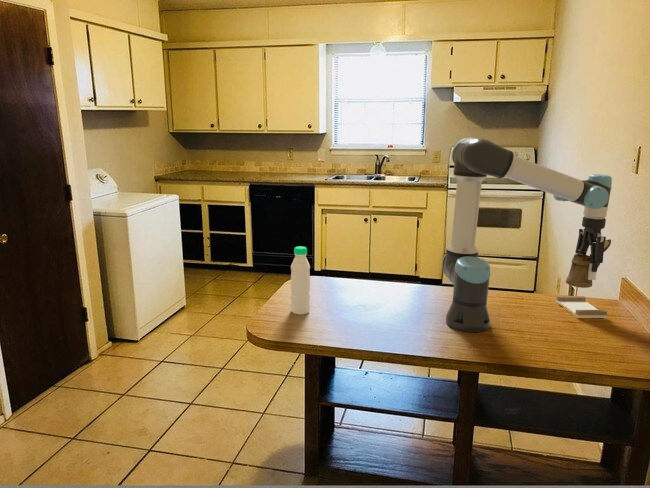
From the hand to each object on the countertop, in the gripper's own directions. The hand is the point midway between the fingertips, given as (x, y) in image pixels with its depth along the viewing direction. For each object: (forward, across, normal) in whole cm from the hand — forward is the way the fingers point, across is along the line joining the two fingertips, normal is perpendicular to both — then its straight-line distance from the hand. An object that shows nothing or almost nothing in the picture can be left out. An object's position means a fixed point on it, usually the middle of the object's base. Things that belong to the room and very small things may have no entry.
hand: (585, 276), depth 187 cm
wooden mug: (+3, 0, 0) cm, 3 cm away
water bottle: (+14, -2, +108) cm, 109 cm away
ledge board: (+14, 0, 0) cm, 14 cm away
